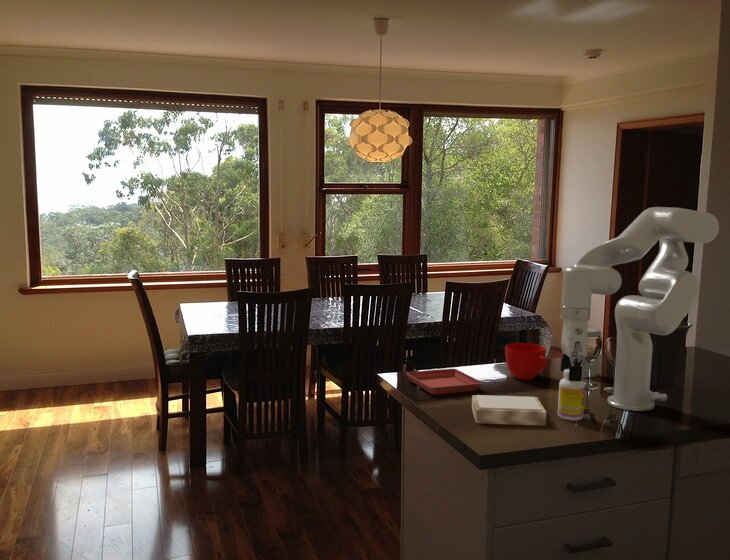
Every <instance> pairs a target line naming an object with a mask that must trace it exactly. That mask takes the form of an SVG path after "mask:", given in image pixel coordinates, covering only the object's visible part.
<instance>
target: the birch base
mask: <svg viewBox="0 0 730 560" xmlns="http://www.w3.org/2000/svg"><path fill="white" fill-rule="evenodd" d="M471 410H472V414H473V418H474V420H475V424H485V425H486V424H491V425H516V426H519V425H520V426H546V425H547V411H546V410H545V408H544V406H543V405H542V403H541V401H540V400H539V397H537V396H523V395H522V396H517V395H516V396H515V395H486V394H485V395H482V394H476V395H475V394H474V395H471Z"/></svg>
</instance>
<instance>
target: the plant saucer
mask: <svg viewBox="0 0 730 560" xmlns="http://www.w3.org/2000/svg"><path fill="white" fill-rule="evenodd" d="M405 374H406V376H407V377H408V378H409V380H410V381H411V382H412V383H413V384H415V385H416V386H418V387H420V388H421V389H423V390H424V391H425V392H427V393H429V394H431V395H433V396H435V395H446V394H447V395H448V394H456V393H457V392H458V393H468V392H475V391H476V390H477V389H479V388H480V387H481V386H483V382H482V381H480V380H479V379H477V378H474V377H472V376H471V375H468V374H467V373H465V372H463V371H461V370H459V369H457V368H446V369H445V368H444V369H434V370H432V369H431V370H420V371H408V372H406V373H405ZM467 391H468V392H467Z"/></svg>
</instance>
